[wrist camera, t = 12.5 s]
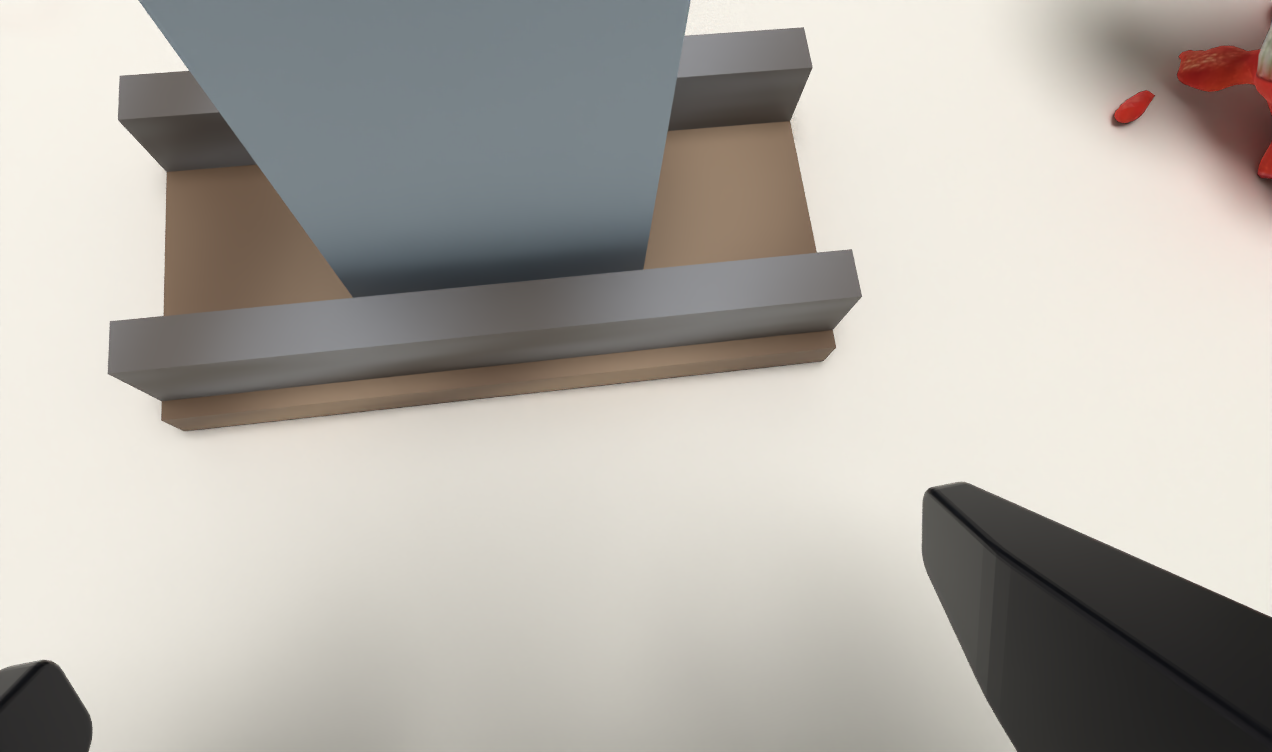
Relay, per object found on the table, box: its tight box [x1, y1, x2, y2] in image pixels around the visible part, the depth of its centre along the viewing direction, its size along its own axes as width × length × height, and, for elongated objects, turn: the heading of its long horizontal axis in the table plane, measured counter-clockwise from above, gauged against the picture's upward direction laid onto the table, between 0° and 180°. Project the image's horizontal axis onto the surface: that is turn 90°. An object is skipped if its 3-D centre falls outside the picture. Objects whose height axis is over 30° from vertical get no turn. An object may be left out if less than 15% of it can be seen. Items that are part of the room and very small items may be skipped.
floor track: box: [108, 27, 862, 431], centre depth 18 cm, size 14×7×3 cm, turn 98°
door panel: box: [139, 0, 690, 298], centre depth 12 cm, size 6×3×12 cm, turn 98°
